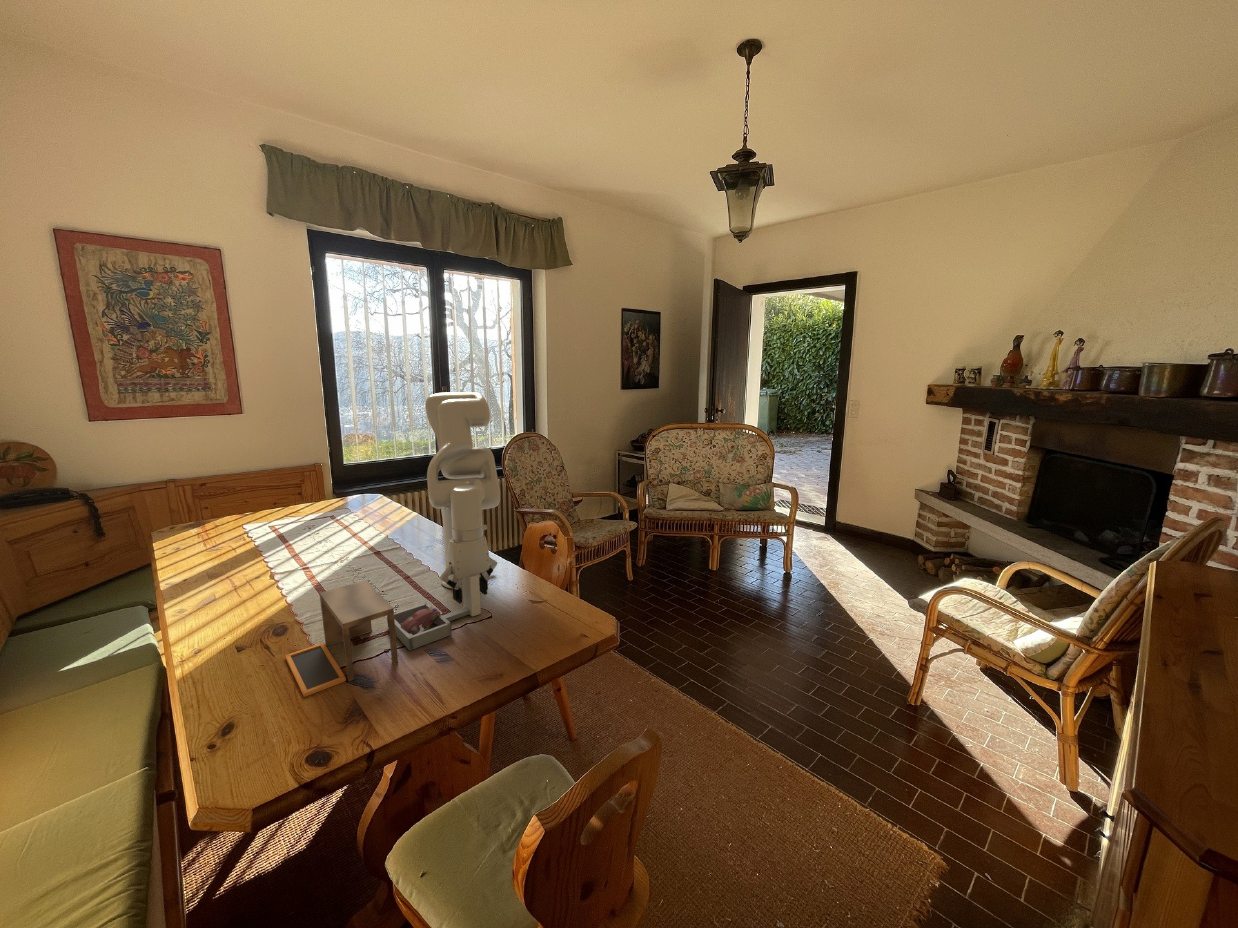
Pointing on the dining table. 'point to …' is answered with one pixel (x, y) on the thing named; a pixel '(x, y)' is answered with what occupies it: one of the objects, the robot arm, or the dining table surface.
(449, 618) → the grey drawer with handle
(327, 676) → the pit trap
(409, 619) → the video game controller
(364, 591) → the brown wooden stand
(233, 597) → the dining table surface
